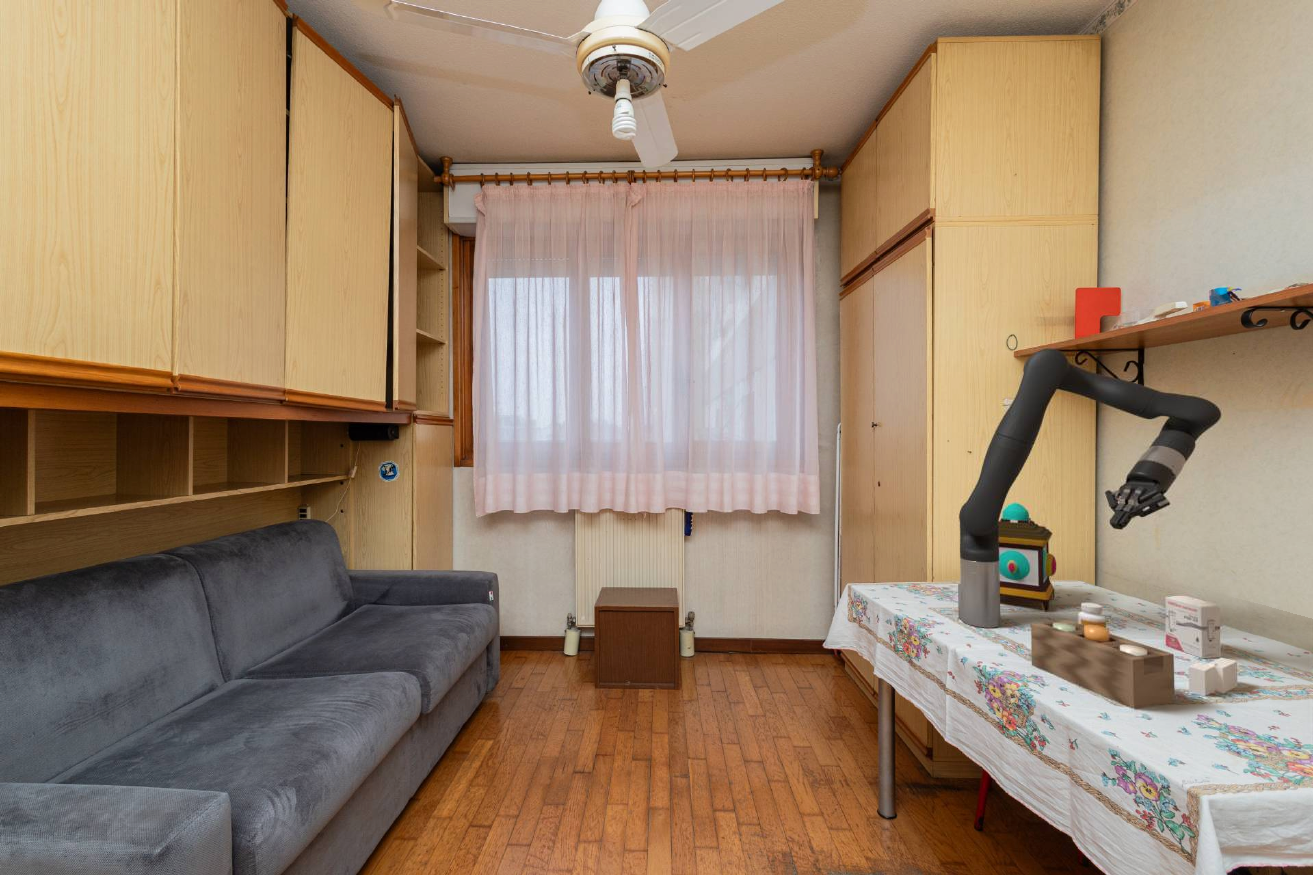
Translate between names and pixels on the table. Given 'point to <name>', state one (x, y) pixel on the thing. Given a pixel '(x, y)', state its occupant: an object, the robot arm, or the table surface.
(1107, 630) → the orange egg
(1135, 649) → the cream egg
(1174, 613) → the ink box
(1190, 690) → the white stepped block
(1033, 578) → the decorative lantern
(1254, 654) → the table surface
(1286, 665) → the table surface
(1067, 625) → the sage egg
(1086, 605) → the supplement bottle
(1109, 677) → the wooden egg holder
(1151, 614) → the table surface
